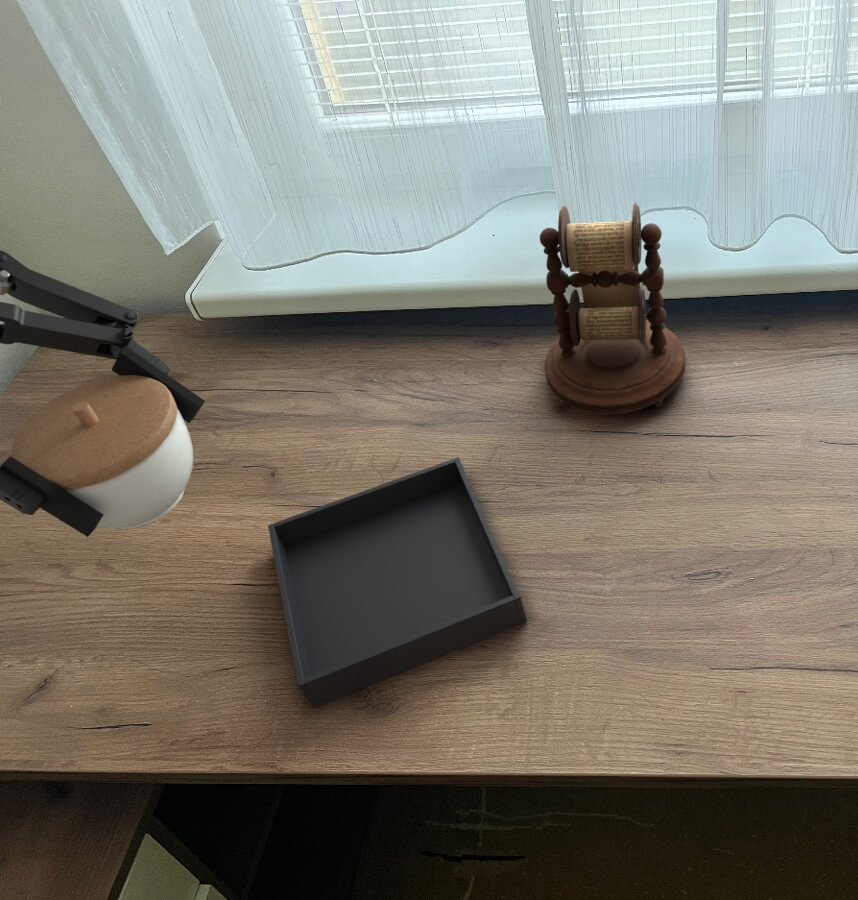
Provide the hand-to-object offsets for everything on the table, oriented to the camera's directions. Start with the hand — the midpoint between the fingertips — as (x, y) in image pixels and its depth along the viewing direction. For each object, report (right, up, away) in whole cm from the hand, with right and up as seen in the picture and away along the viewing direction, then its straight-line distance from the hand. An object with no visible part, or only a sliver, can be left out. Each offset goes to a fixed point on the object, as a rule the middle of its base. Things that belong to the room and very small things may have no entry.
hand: (149, 465), depth 62 cm
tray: (+14, -11, +14) cm, 23 cm away
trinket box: (-2, -3, +4) cm, 5 cm away
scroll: (+34, +9, +31) cm, 47 cm away
